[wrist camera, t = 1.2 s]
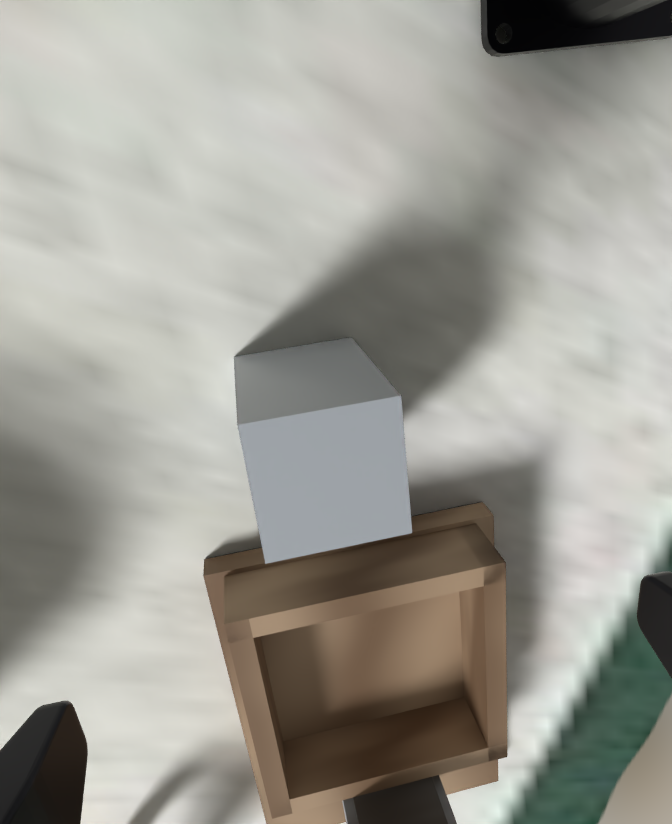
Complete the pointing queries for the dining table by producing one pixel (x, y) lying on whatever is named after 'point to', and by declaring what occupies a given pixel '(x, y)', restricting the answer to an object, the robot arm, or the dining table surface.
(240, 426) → the block
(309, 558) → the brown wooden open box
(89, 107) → the dining table surface
